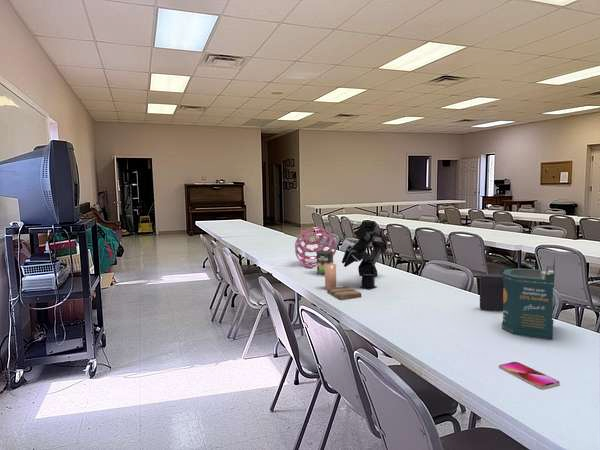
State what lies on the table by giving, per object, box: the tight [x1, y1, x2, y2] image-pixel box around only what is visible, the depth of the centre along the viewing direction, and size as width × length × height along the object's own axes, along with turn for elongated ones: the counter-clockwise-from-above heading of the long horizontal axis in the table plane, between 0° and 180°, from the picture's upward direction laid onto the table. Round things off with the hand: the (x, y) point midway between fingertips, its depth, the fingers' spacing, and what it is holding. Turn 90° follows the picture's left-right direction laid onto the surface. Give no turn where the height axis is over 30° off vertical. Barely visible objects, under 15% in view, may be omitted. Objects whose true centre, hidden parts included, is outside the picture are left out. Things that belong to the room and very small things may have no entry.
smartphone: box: [498, 361, 561, 390], centre depth 117 cm, size 7×1×15 cm
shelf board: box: [326, 285, 362, 301], centre depth 206 cm, size 16×11×2 cm
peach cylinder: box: [324, 263, 338, 291], centre depth 218 cm, size 6×6×13 cm
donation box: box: [501, 252, 556, 341], centre depth 150 cm, size 16×16×28 cm
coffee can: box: [315, 250, 334, 277], centre depth 253 cm, size 10×10×14 cm
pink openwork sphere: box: [294, 226, 338, 269], centre depth 277 cm, size 28×28×27 cm
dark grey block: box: [479, 273, 504, 313], centre depth 174 cm, size 11×4×15 cm, turn 71°
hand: (343, 264), depth 217 cm, fingers open, 9 cm apart
